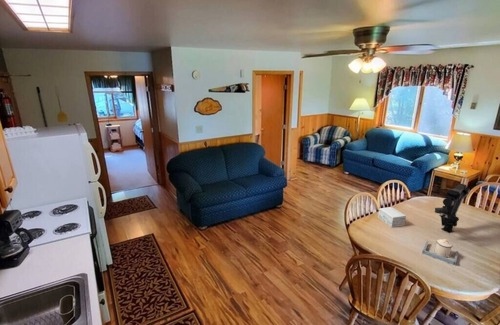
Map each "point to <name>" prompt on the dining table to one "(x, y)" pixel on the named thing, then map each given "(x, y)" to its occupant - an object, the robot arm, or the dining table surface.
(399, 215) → the supplement box
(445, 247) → the teacup with lid
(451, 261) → the dock
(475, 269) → the dining table surface
